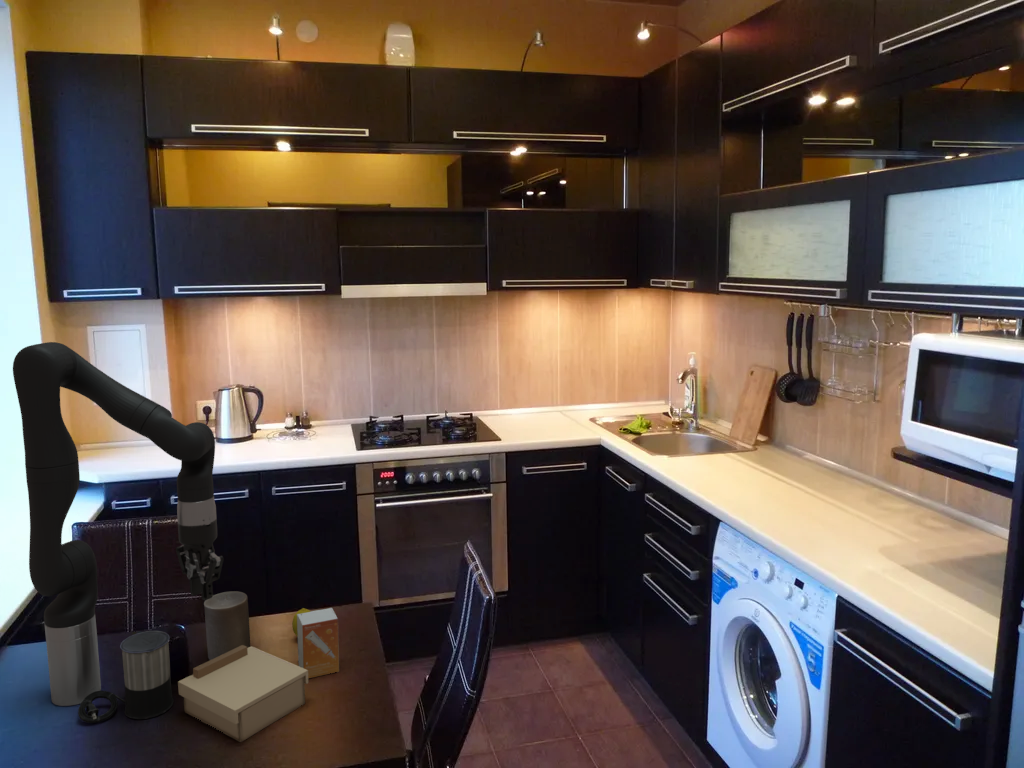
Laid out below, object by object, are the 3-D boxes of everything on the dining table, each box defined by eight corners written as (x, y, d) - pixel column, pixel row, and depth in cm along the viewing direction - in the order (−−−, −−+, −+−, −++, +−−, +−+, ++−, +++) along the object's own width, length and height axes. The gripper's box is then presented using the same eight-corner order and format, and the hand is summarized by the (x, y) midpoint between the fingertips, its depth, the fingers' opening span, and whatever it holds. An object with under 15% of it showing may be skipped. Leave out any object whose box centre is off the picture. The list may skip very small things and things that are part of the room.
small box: (303, 680, 167) (301, 625, 165) (298, 667, 173) (296, 613, 171) (340, 672, 171) (338, 617, 169) (333, 659, 176) (331, 606, 175)
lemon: (310, 631, 190) (309, 601, 189) (319, 640, 186) (318, 609, 185) (289, 638, 186) (287, 607, 185) (298, 646, 182) (297, 615, 181)
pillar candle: (258, 645, 183) (255, 586, 181) (238, 666, 173) (234, 604, 171) (221, 643, 184) (217, 584, 182) (198, 663, 175) (194, 601, 172)
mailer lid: (178, 694, 154) (177, 673, 153) (252, 657, 168) (251, 638, 168) (235, 724, 144) (234, 701, 143) (308, 682, 158) (307, 662, 158)
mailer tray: (184, 712, 155) (182, 685, 154) (250, 677, 168) (248, 652, 167) (240, 742, 145) (238, 713, 144) (305, 703, 158) (304, 676, 158)
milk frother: (183, 704, 158) (178, 638, 156) (107, 742, 145) (101, 670, 143) (145, 683, 166) (141, 620, 164) (70, 718, 153) (64, 649, 151)
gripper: (160, 517, 159) (166, 594, 162) (201, 529, 151) (206, 611, 154) (193, 508, 165) (197, 583, 168) (233, 519, 157) (237, 598, 160)
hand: (201, 596), depth 161 cm, fingers open, 3 cm apart
